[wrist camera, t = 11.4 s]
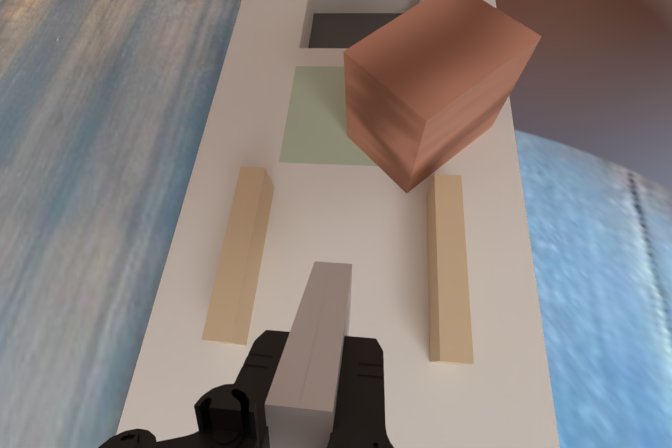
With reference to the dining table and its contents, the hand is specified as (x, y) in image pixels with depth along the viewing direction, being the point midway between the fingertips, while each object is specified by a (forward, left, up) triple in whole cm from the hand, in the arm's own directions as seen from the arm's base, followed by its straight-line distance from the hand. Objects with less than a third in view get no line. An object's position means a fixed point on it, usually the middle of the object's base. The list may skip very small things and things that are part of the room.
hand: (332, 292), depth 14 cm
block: (-4, -13, -6) cm, 15 cm away
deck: (0, -10, -9) cm, 13 cm away
